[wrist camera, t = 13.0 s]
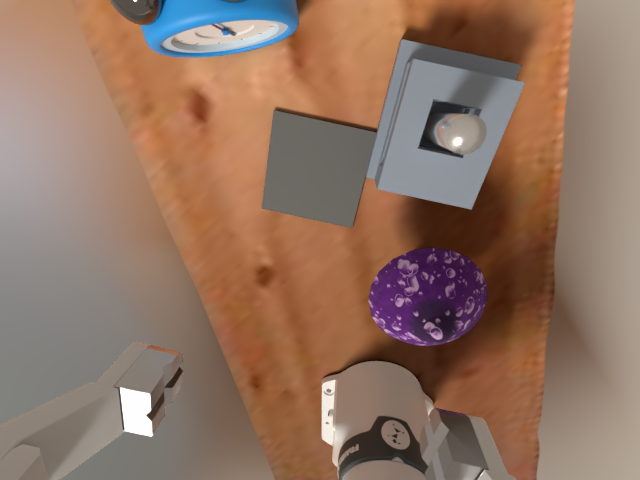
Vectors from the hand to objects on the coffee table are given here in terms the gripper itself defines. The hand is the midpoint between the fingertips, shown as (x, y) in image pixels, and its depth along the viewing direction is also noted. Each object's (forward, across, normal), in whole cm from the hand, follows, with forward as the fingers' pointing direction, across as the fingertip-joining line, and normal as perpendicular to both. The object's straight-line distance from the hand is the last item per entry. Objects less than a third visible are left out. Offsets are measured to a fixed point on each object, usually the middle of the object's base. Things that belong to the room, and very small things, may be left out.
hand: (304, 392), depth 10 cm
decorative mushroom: (+31, -12, +9) cm, 35 cm away
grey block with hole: (+31, -9, -8) cm, 33 cm away
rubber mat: (+31, +3, 0) cm, 31 cm away
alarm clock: (+31, +14, -14) cm, 37 cm away
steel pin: (+30, -9, -8) cm, 32 cm away
